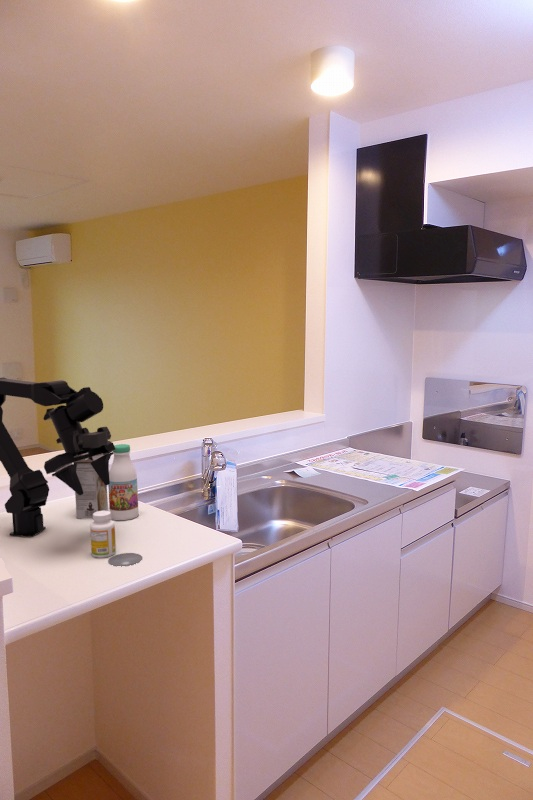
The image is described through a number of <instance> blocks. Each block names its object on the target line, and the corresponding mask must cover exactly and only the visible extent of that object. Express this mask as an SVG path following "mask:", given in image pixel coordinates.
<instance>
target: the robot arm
mask: <svg viewBox="0 0 533 800" xmlns="http://www.w3.org/2000/svg"><path fill="white" fill-rule="evenodd" d="M7 396H9V397H16V398H25V399H28V400H31V401H32V402H33V403H34V404H37V405H40V406H43V407H51V406H57V407H55V408H54V407H51V408H47V409H46V410H45V411H46V412H45V413H44V416H43V420H44V421H49V420H51V422H52V424H53V426H54V429H55V431H56V434H57V436H58V438H57V439H55V441H56V444H61V445H62V447H63V450H64V453H60V454H57V455H55V456H53V457H51V458H49V459H48V460H46V461H45V462H44V465H43V468H44V470H45V473H46V475H50V474H51V476H52V477H56V478H57V479H58V480H60V481H61V482H63V483H64V484H65V485H67V486H68V487H69V488H70V489H71V490H72V491H74V493H75V492H76V493H77V494H78V495H82V494H83V489H82V486H81V483H80V481H79V478H78V476H77V473H76V468H77V463H75V464H73V463H74V462H77V461H80V460H84V459H87V458H89V459H90V460H93V461H92V462H90V464H91V465H92V467H93V468H94V470H95V471H96V473H97V474H98V476H99V477H100V479H101V480H102V481H103V483H104V484H105V485H107V486H108V485H109V484H110V480H109V471H110V467H109V465H110V464H109V462H110V459H111V456H112V455H113V456H114V454H113V451H114V450H116V449H115V446H114V445H115V444H114V442H113V441H110V440H111V437H112V434H111V431H110V429H109V428H108V426H100V427H98V428H97V429H96V431H94V432H93V431H92V432H90V431H89V428H87V427H83V426H82V424H81V423H84V422H85V421H88V420H89V419H91V418H93V417H95V416H97V415H98V414H100V413H101V412H102V411H103V410H104V402H103V399H102V397H100V396H99V394H98V393H96V392H94V391H93V390H91V387H90V386H85V387H82V388H80V389H79V390H78V391H76V390H75V389H74V388H73V387H70V386H69V384H68V382H67V381H65V380H63V379H61V380H51V381H44V382H35V381H29V380H28V381H26V380H21V379H13V378H12V379H11V378H7V377H5V376H4V377H3V376H2V377H0V462H1V464H2V467H3V468H4V469H5V472H7V475H8V477H9V489H8V490H9V492H10V495H11V496H9V498H8V500H7V501H6V502H5V503H4V508H5V512H6V513H8V514H12V517H11V518H12V530H13V531H11V532H9V536H13V537H28V538H32V537H34V536H36V535H37V534H40V533H41V532H43V531H45V530H46V529H47V527H46V526H44V514H43V513H42V507H44V506H46V504H47V501H48V500H47V499H48V497H49V493H50V487H49V485H48V483H49V481H48V480H47V479H46V477H45V476H44V473H43V472H42V470H40V469H35V470H33V469H32V468H30V467H29V466H28V464H27V462H26V460H25V458H24V457H23V455H22V453H21V452H20V450H19V448H18V447H17V445H16V443H15V442H14V440H13V439H14V438H13V437H12V436H11V434H10V433H9V431H8V429H7V427H6V426H5V424H4V422H3V415H4V410H3V408H2V406H3V405H4V404H5V402H6V399H7ZM64 404H65V405H64Z"/></svg>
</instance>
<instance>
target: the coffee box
mask: <svg viewBox="0 0 533 800" xmlns="http://www.w3.org/2000/svg"><path fill="white" fill-rule="evenodd" d="M92 461H93V460H90V459H89V458H87V459H84V460H80V461H77V462H74V463H72V464H75V463H77V468H76V473H77V476H78V478H79V481H80V483H81V486H82V489H83V494H82V495H78V494H77V493H76V492H75V491H74V493H75V494H74V495H75V513H76V519H77V518H93V513H95V512H97V511H108V509H109V497H108V485H105V484H104V483H103V481H102V480H101V479H100V477H99V476H98V474H97V473H96V471H95V470H94V468H93V467H92V465H91V464H90V462H92Z"/></svg>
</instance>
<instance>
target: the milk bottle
mask: <svg viewBox="0 0 533 800" xmlns="http://www.w3.org/2000/svg"><path fill="white" fill-rule="evenodd" d="M114 446H115V449H116V450H114V451H113V460H112V463H111V465H110V467H109V480H110V484H109V485H107V487H108V509H109V511H110V512H111V519H110V520H115V521H128V520H132V519H135V518H137V517H138V516H139V494H138V493H139V491H138V477H137V470H136V468H135V466H134V464H133V462H132V459H131V456H130V454H131V446H130V444H126V443H120V444H114Z"/></svg>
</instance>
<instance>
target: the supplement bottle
mask: <svg viewBox="0 0 533 800" xmlns="http://www.w3.org/2000/svg"><path fill="white" fill-rule="evenodd" d="M92 520H93V522H91V524H90V525H89V526H90V527H89V529H90V543H91V544H90V545H91V547H90V548H91V549H90V550H91V555H92V557H94V558H99V559H100V558H101V559H105V558H109V557H113V556H114V554H115V555H116V552H117V551H116V529H115V527H116V526H115V521H113V519H111V512H110V510H106V511H97V512H95V513H93V519H92Z"/></svg>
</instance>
